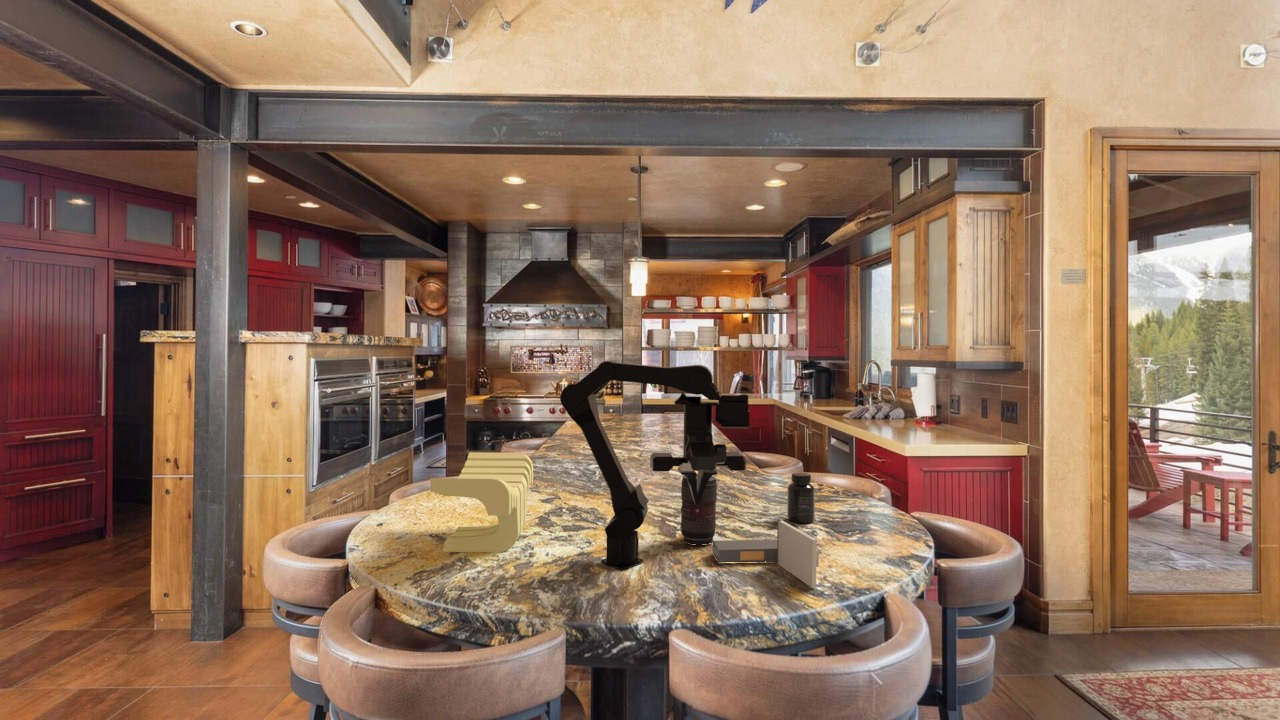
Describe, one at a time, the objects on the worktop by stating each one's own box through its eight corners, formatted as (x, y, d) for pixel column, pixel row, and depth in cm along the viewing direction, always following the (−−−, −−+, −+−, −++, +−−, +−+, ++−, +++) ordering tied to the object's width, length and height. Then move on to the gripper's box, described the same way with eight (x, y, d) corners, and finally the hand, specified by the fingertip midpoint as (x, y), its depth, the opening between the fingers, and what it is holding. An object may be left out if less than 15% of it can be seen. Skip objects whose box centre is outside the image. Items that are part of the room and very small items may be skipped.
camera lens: (714, 548, 140) (715, 481, 139) (678, 546, 141) (679, 479, 141) (717, 537, 148) (718, 474, 147) (683, 535, 149) (684, 472, 149)
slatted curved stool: (509, 566, 128) (509, 478, 127) (430, 565, 128) (430, 478, 127) (532, 523, 158) (533, 452, 157) (469, 523, 158) (469, 452, 157)
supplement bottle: (817, 519, 164) (818, 473, 163) (809, 525, 158) (810, 478, 158) (792, 515, 167) (792, 470, 167) (783, 521, 162) (784, 474, 161)
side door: (818, 588, 117) (819, 538, 117) (811, 589, 117) (812, 539, 117) (782, 563, 131) (783, 518, 130) (776, 563, 130) (776, 518, 130)
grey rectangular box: (718, 564, 130) (719, 550, 129) (712, 554, 136) (712, 540, 136) (790, 562, 131) (790, 548, 131) (781, 552, 137) (781, 539, 137)
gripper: (656, 433, 118) (655, 515, 119) (753, 432, 120) (752, 513, 120) (650, 425, 129) (649, 500, 130) (739, 424, 131) (738, 499, 131)
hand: (697, 503), depth 127 cm, fingers closed
